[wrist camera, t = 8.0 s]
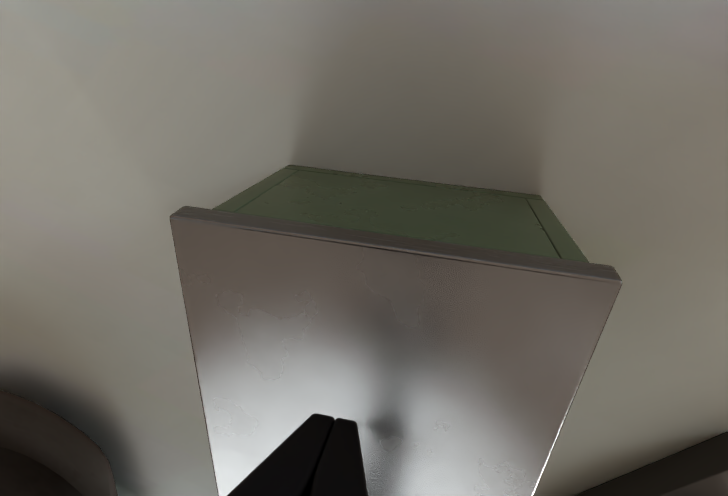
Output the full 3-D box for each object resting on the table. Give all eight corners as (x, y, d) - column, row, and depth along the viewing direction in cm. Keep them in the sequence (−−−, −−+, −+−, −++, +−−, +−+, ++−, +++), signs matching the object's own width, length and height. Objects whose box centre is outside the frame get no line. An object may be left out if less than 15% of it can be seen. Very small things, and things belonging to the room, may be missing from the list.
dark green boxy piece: (288, 164, 20) (210, 209, 14) (541, 195, 19) (591, 262, 12) (286, 376, 25) (228, 484, 19) (486, 415, 24) (500, 548, 17)
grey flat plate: (183, 204, 12) (167, 215, 12) (614, 264, 11) (624, 282, 10) (227, 484, 19) (218, 502, 18) (500, 549, 17) (502, 571, 16)
